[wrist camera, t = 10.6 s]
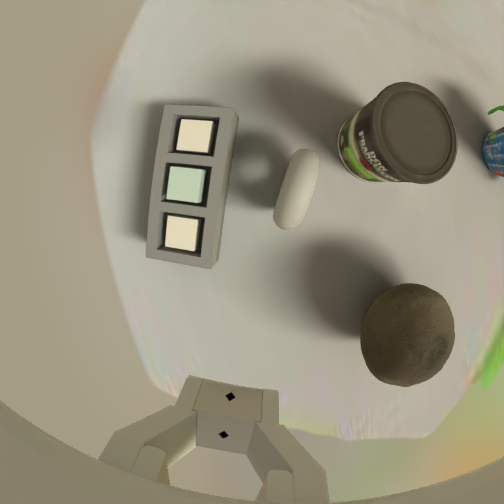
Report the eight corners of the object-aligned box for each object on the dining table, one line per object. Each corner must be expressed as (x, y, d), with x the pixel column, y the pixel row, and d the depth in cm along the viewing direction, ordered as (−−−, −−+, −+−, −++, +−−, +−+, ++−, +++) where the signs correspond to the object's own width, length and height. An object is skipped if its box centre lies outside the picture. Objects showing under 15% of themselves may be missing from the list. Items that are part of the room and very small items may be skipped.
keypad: (176, 113, 36) (164, 104, 31) (238, 117, 35) (234, 108, 30) (159, 248, 40) (145, 257, 35) (218, 259, 40) (211, 269, 35)
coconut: (438, 293, 39) (489, 333, 24) (390, 359, 42) (422, 416, 28) (380, 252, 38) (431, 286, 24) (328, 328, 41) (350, 391, 27)
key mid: (175, 167, 34) (170, 166, 32) (205, 170, 34) (202, 169, 32) (171, 198, 35) (166, 198, 33) (201, 201, 35) (197, 202, 33)
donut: (291, 150, 36) (298, 137, 26) (315, 158, 36) (330, 149, 26) (269, 219, 38) (268, 231, 29) (293, 227, 38) (300, 241, 29)
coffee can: (369, 197, 37) (416, 205, 23) (321, 140, 35) (349, 116, 22) (415, 155, 34) (472, 147, 21) (371, 99, 33) (414, 65, 19)
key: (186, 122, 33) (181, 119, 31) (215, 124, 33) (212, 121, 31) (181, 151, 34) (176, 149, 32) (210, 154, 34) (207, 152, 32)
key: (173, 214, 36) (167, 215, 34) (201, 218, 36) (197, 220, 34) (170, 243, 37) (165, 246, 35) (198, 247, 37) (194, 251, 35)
